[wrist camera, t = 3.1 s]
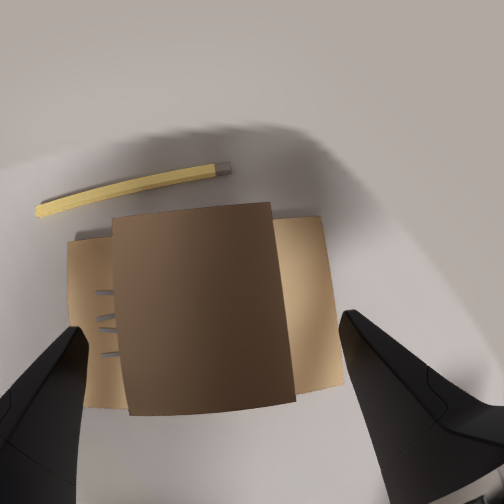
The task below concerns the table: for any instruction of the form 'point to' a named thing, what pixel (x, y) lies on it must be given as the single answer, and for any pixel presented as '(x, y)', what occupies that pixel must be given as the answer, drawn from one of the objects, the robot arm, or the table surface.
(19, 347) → the table surface
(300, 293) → the board
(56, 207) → the pencil
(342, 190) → the table surface
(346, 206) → the table surface
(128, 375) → the block
